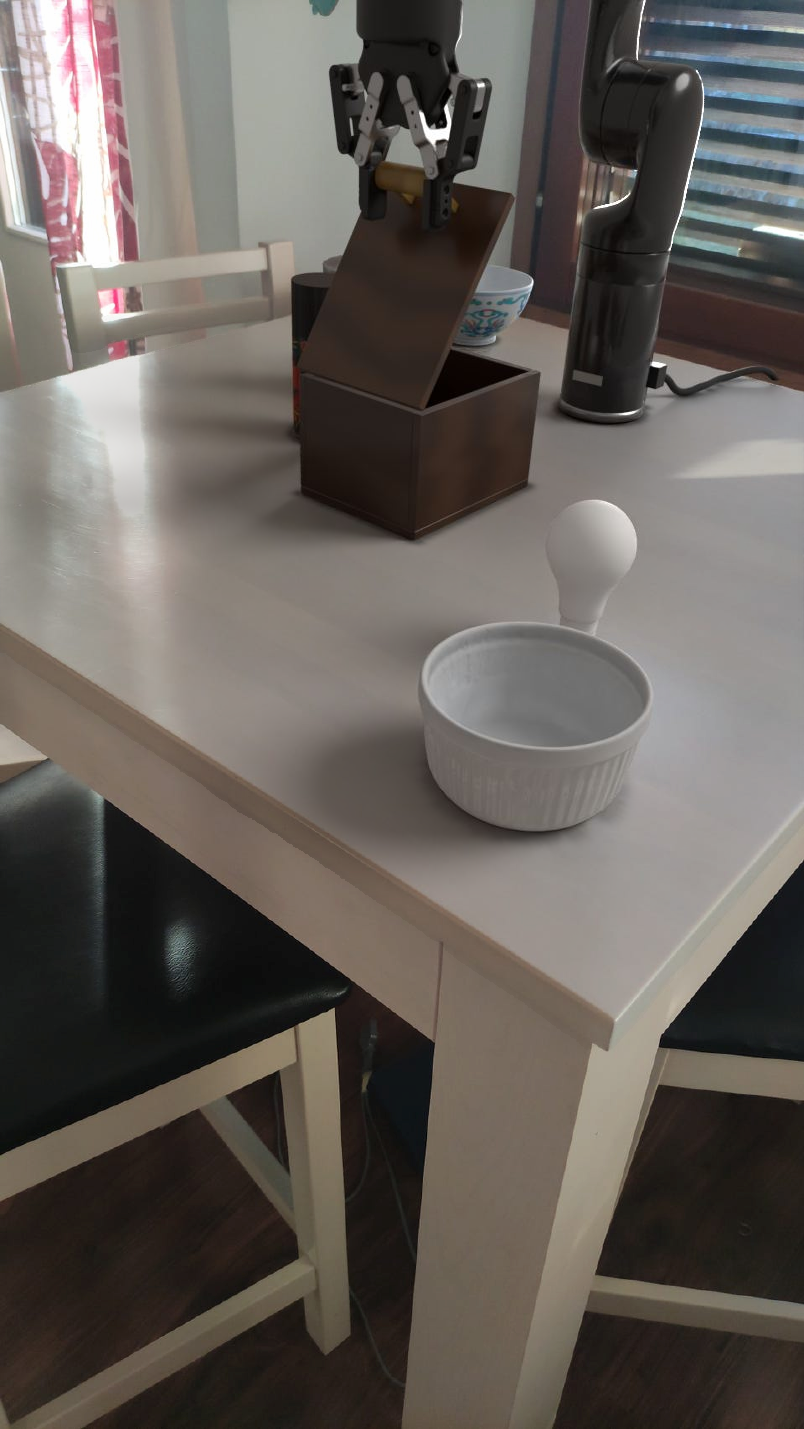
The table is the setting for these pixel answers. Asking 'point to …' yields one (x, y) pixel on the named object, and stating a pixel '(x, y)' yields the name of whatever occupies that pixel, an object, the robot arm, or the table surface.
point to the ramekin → (531, 722)
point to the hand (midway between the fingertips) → (403, 224)
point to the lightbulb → (589, 559)
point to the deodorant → (304, 323)
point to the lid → (403, 290)
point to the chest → (420, 444)
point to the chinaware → (494, 305)
